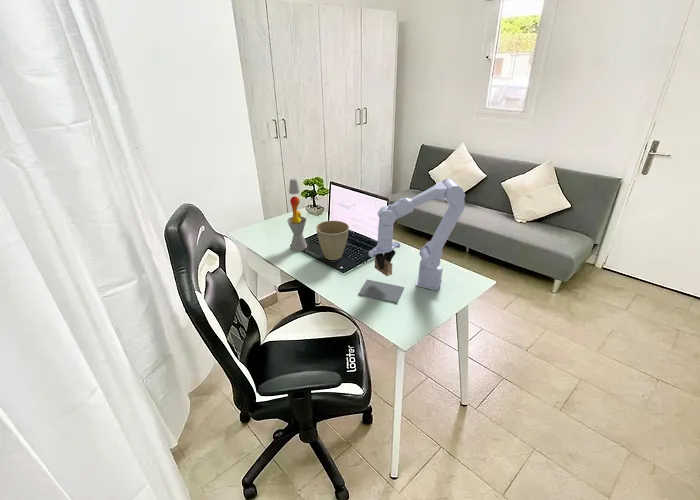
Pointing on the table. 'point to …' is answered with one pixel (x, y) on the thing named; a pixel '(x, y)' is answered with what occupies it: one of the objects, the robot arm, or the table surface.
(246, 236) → the table surface
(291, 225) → the lava lamp
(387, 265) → the wooden tile
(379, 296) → the rubber mat
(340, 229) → the plant pot
